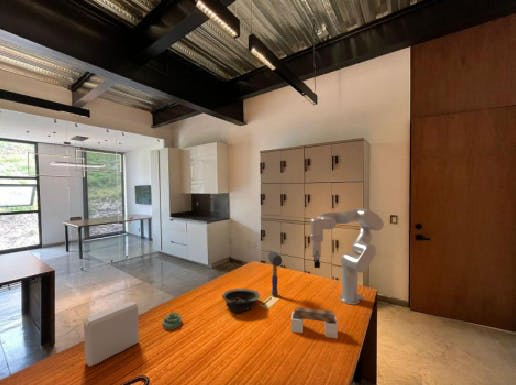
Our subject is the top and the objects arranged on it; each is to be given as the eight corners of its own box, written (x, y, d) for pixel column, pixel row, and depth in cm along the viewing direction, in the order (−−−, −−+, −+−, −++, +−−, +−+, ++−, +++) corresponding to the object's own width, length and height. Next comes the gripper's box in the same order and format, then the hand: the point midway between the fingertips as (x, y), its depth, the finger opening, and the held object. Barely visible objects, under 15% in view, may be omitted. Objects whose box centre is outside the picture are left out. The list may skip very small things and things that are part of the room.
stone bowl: (228, 320, 134) (228, 304, 134) (217, 303, 156) (217, 289, 157) (267, 310, 144) (266, 295, 144) (251, 295, 166) (251, 282, 167)
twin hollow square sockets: (336, 330, 125) (336, 317, 125) (337, 338, 119) (337, 325, 118) (292, 324, 131) (292, 311, 130) (291, 331, 124) (291, 318, 124)
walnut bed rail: (333, 324, 124) (333, 311, 124) (333, 328, 120) (334, 314, 120) (295, 319, 128) (295, 306, 128) (294, 322, 125) (294, 310, 125)
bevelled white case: (133, 336, 120) (132, 298, 119) (140, 343, 115) (139, 303, 114) (83, 361, 104) (82, 317, 103) (89, 370, 99) (87, 324, 98)
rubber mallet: (282, 299, 159) (283, 255, 157) (272, 300, 157) (272, 256, 155) (276, 290, 171) (277, 250, 169) (267, 291, 169) (267, 250, 167)
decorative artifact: (165, 320, 135) (160, 331, 125) (164, 308, 134) (160, 318, 125) (183, 318, 136) (180, 329, 127) (182, 306, 136) (179, 316, 126)
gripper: (310, 234, 154) (310, 260, 155) (310, 241, 137) (310, 270, 138) (322, 234, 152) (322, 260, 153) (324, 241, 135) (324, 270, 136)
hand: (316, 265), depth 145 cm, fingers open, 9 cm apart
